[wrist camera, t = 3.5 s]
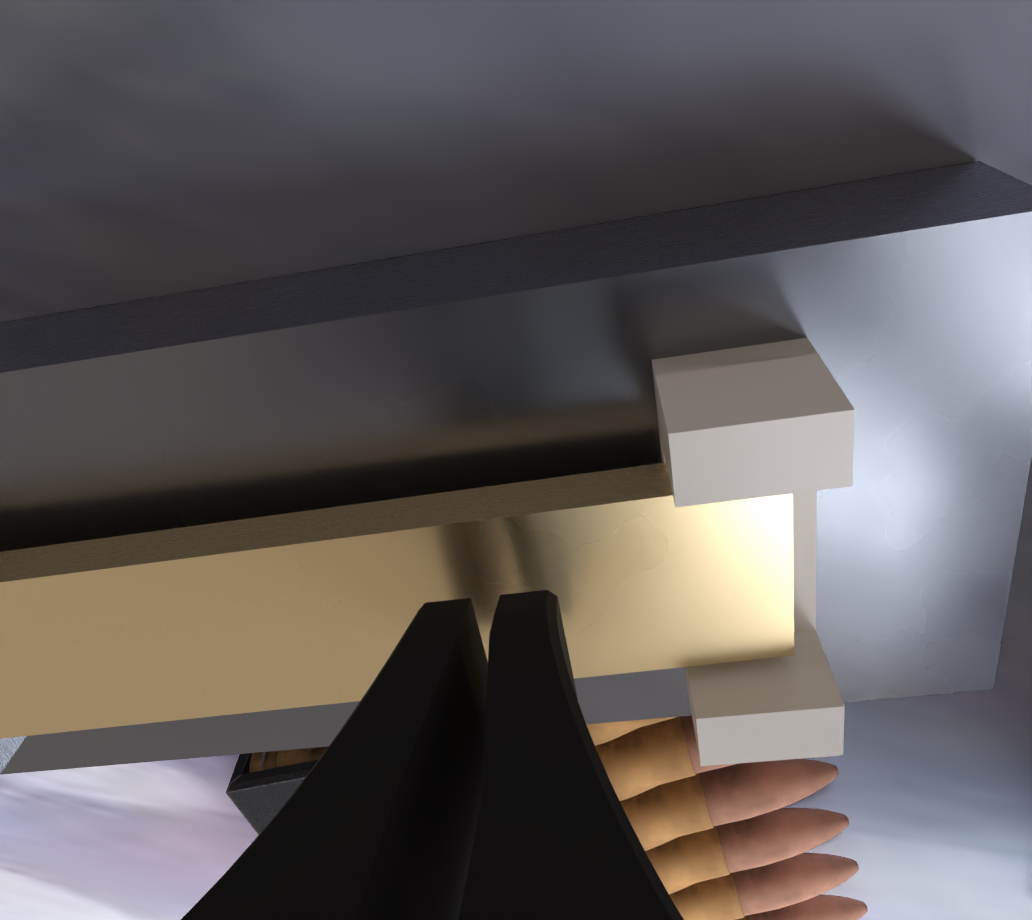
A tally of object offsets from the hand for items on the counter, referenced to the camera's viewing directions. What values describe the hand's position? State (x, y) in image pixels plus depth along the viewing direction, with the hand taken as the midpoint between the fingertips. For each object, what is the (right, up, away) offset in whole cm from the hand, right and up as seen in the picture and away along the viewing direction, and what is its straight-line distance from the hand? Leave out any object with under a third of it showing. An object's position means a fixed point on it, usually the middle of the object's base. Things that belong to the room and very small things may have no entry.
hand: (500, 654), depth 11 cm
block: (-2, +2, +4) cm, 5 cm away
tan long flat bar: (-3, +1, +2) cm, 4 cm away
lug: (+3, +2, +1) cm, 4 cm away
